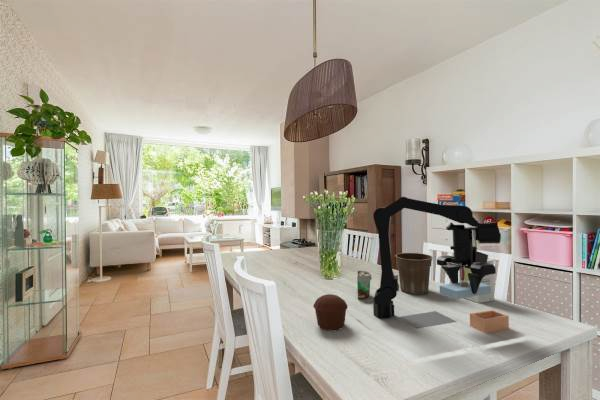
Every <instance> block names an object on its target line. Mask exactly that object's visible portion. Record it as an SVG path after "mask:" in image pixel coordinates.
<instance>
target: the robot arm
mask: <svg viewBox="0 0 600 400" xmlns="http://www.w3.org/2000/svg"><path fill="white" fill-rule="evenodd" d="M403 209H407V210H412V211H418V212H423V213H426V214H427V213H428V214H432V215H438V216H441V217H443V218H446V219H448V220H451V221H453V222H456V223H459V224H454V223H453V222H450V223H449V224H448V225H447V226H445V230H447V231H452V244H453V245H451V246H449V247H450V250H453V255H442V256H441V255H439V256H438V257H437V258H436V265H438V266H441V269H443V270H444V272H445V274H446V275H447V277H448V279H449V280H450V283H451V284H453V283H459V269H460V268H461V267H464V268H468V269H470V271H471V272H472V273H468V278H469V282H470V286H471V290H472V293H473V294H476V293H477V290H478V288H479V285H480V282H481V280H482V278H483V277H484V276H486V275H490V274H494V275H495V274H496V270H497V269H496V266H495V264H494V265H493V264H488V263H487V259H489V254H486V253H483V252H481V251H478V248H477V246H475V245H474V243H473V240H474V241H477V243H478V244H500V243H501V238H502V236H501V231H500V229H499V226H498V225H499V224H498V222H496V221H491V222H479V221H478V220H477V219H476V218H475V217H474V215H473V210H472V209H471V208H470V207H469V206H466V205H459V204H441V203H440V204H438V203H435V202H427V201H424V200H419V199H418V200H417V199H413V198H408V197H406V196H401V197H398V199H396V200H395V201H394V202H392V203H390V204H389V205H387V206H386V207H385V206H384V207H383V206H381V207H378V208H376V209H375V210H374V212H373V214H372V215H373V221H374V224H375V227H376V230H377V233H378V242H379V243H378V244H379V245H378V246H379V256H380V266H381V267H380V268H381V274H380V276H381V277H380V283H379V284H380V285H379V288H378V289H377V290H375V294H374V296H373V300H372V301H373V302H372V305H373V306H372V309H373V316H374V317H375V318H377V319H385V320H386V319H391V318H392V317H394V316H395V305H394V301H393V300H394V299H395V298H396V296H397V295H398V294H397V293H398V292H400V283H399V274H397V275H395V273H394V270H393V262H392V258H393V257H392V249H391V237H390V228H391V223H392V222H391V220H392V216H394V215H395V214H398V213H399V212H400V211H403ZM465 224H467V225H469V226H470V227H467V226H466V227H465ZM479 262H480V263H479ZM473 263H475V264H473ZM467 265H468V266H467Z"/></svg>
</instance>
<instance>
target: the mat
mask: <svg viewBox="0 0 600 400" xmlns="http://www.w3.org/2000/svg"><path fill="white" fill-rule="evenodd" d="M398 318H399V319H400V320H402V321H403V322H405V323H406V324H407V323H408V324H409V325H411V326H412V327H414V328H415V329H423V328H428V327H434V326H440V325H445V324H451V323H452V324H453V323H457V320H455V319H453V318H450V317H449V316H446V315H444V314H442V313H440V312H437V311H436V310H435V311H434V310H433V311H428V312H422V313H415V314H408V315H402V316H398Z"/></svg>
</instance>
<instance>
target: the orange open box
mask: <svg viewBox="0 0 600 400" xmlns="http://www.w3.org/2000/svg"><path fill="white" fill-rule="evenodd" d="M509 318H510V317H509V315H507V314H506V313H502V312H499V311H496V310H494V309H491V310H489V309H488V310H484V311H476V312H471V313H469V326H470V327H471V328H473V329H475V330H478V331H480V332H482V333H483V334H488V333H493V332H497V331H503V330H508V329H510V323H509V322H510V321H509Z"/></svg>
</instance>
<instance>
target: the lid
mask: <svg viewBox="0 0 600 400" xmlns="http://www.w3.org/2000/svg"><path fill="white" fill-rule="evenodd" d="M439 293H440V294H441V295H444V296H446V297H450V298H452V299H455V300H459V299H465V298H467V297H473V296H478V295H484V294H490V293H491V286H490V285H487V284H483V283H480V285H479V288H478V290H477V293H476V294H473V293H472V290H471V286H470V282H469V281H466V282H460V283H459V282H458V283H453V284H452V283H446V284H441V285H439Z"/></svg>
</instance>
